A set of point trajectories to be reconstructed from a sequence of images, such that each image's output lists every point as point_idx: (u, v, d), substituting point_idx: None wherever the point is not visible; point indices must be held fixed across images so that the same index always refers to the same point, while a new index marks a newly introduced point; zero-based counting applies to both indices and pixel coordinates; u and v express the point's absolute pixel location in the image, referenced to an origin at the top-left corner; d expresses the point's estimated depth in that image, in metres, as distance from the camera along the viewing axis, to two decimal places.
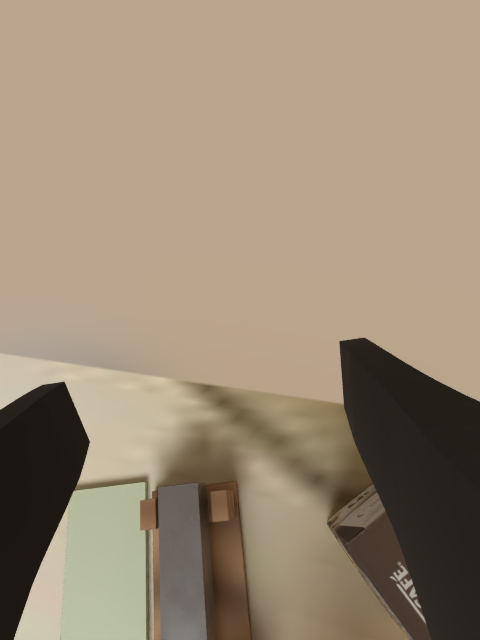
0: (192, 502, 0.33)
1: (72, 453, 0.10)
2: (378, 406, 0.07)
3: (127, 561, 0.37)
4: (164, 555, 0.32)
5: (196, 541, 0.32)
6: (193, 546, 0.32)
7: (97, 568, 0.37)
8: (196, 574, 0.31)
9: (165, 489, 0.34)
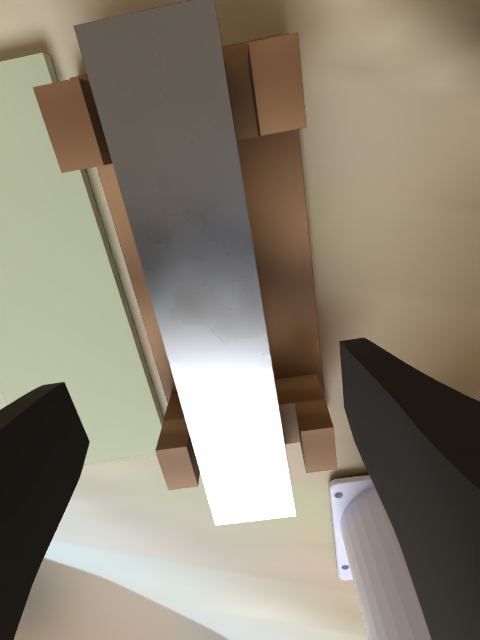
0: (203, 72, 0.10)
1: (72, 453, 0.10)
2: (378, 406, 0.07)
3: (62, 238, 0.18)
4: (145, 229, 0.12)
5: (230, 188, 0.11)
6: (223, 201, 0.11)
7: (3, 254, 0.18)
8: (238, 264, 0.12)
9: (102, 31, 0.10)
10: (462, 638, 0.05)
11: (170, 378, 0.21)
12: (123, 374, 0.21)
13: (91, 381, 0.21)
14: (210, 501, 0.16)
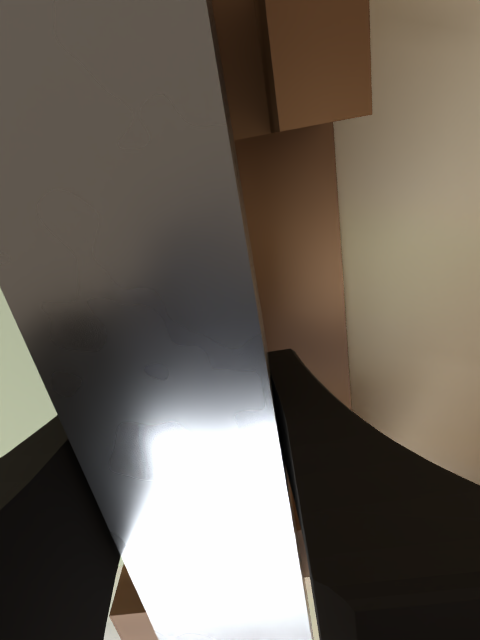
0: None
1: None
2: (282, 419, 0.07)
3: None
4: (46, 323, 0.06)
5: (217, 243, 0.05)
6: (202, 270, 0.05)
7: None
8: (236, 386, 0.06)
9: None
10: None
11: None
12: None
13: None
14: None
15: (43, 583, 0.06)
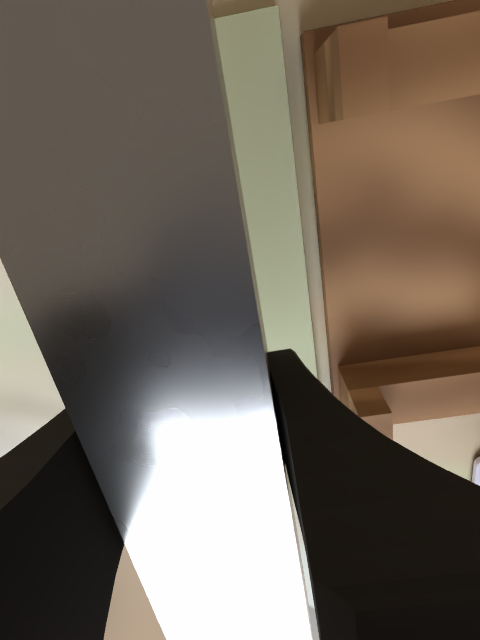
0: None
1: None
2: (282, 419, 0.07)
3: (259, 202, 0.17)
4: (52, 312, 0.06)
5: (217, 234, 0.05)
6: (203, 260, 0.06)
7: None
8: (235, 373, 0.06)
9: None
10: None
11: (340, 349, 0.20)
12: (291, 346, 0.21)
13: None
14: None
15: (43, 583, 0.06)
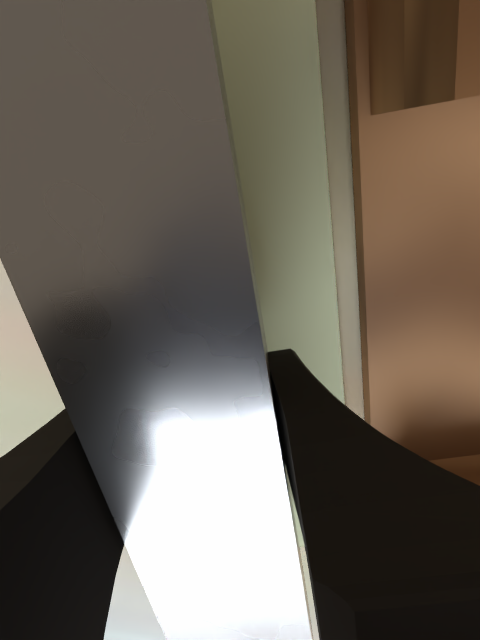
0: None
1: None
2: (282, 419, 0.07)
3: (270, 238, 0.11)
4: (52, 311, 0.06)
5: (217, 234, 0.05)
6: (203, 259, 0.06)
7: None
8: (235, 372, 0.06)
9: None
10: None
11: None
12: None
13: None
14: None
15: (43, 583, 0.06)
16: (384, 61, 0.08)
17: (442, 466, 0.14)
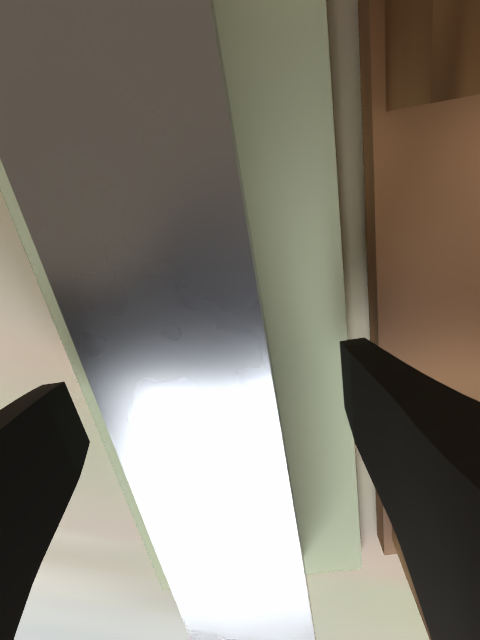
0: (168, 1, 0.05)
1: (72, 453, 0.10)
2: (378, 406, 0.07)
3: (272, 248, 0.10)
4: (77, 290, 0.07)
5: (222, 221, 0.06)
6: (210, 244, 0.06)
7: None
8: (238, 345, 0.07)
9: None
10: (462, 638, 0.05)
11: None
12: (320, 463, 0.13)
13: None
14: None
15: None
16: (405, 48, 0.07)
17: None
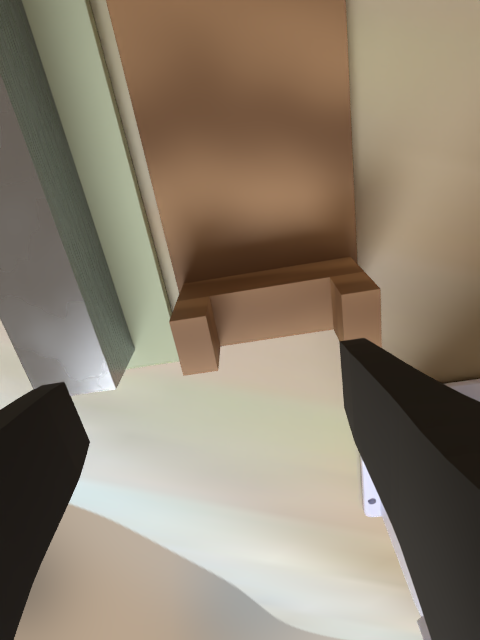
0: None
1: (72, 453, 0.10)
2: (378, 406, 0.07)
3: (59, 76, 0.15)
4: None
5: None
6: None
7: None
8: None
9: None
10: (462, 638, 0.05)
11: (183, 263, 0.18)
12: (128, 259, 0.18)
13: None
14: (27, 372, 0.17)
15: None
16: None
17: (226, 279, 0.18)
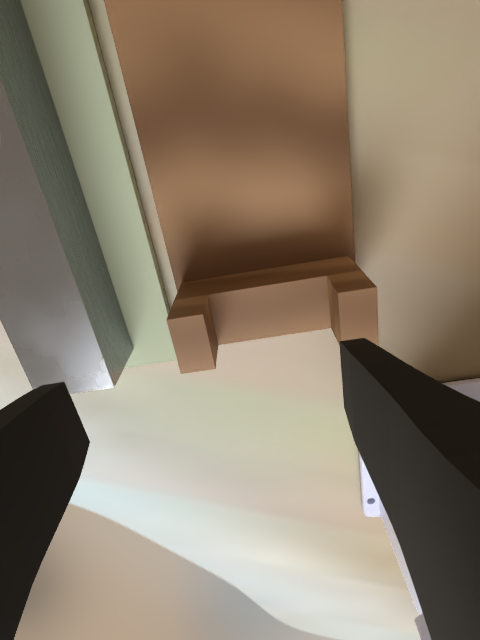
0: None
1: (72, 453, 0.10)
2: (378, 406, 0.07)
3: (58, 76, 0.15)
4: None
5: None
6: None
7: None
8: None
9: None
10: (462, 638, 0.05)
11: (181, 262, 0.18)
12: (127, 258, 0.18)
13: None
14: (26, 370, 0.17)
15: None
16: None
17: (224, 278, 0.18)
